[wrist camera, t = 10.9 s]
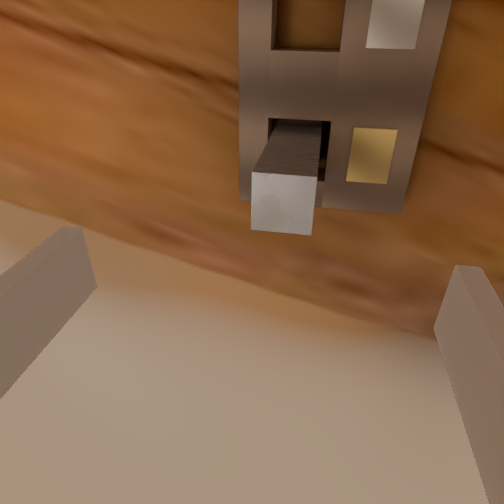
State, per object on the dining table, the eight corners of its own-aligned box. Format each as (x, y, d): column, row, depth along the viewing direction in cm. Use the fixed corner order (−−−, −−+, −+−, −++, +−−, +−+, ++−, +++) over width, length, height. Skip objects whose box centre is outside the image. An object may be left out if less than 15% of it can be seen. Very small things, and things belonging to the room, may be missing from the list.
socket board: (247, -71, 25) (236, -82, 22) (457, -75, 23) (474, -88, 20) (246, 187, 35) (238, 201, 32) (395, 199, 33) (401, 215, 30)
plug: (280, 117, 31) (251, 172, 20) (322, 119, 30) (317, 177, 19) (278, 158, 33) (250, 229, 22) (318, 161, 32) (311, 235, 21)
